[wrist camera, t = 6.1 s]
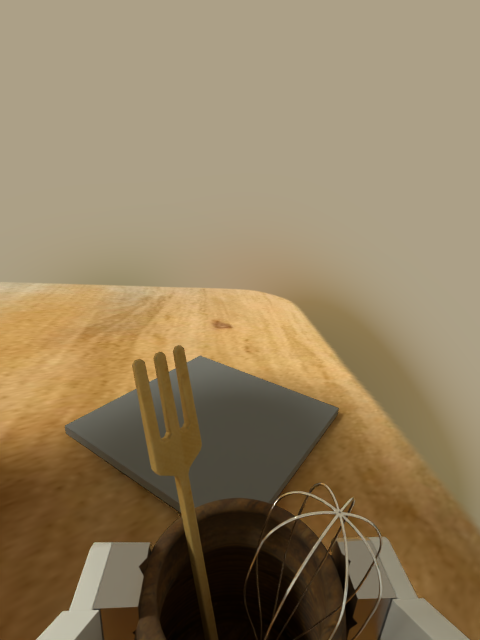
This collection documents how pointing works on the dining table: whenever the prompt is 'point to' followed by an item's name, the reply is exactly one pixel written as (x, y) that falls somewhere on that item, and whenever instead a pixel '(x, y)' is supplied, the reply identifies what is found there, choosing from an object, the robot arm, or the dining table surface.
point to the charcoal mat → (214, 434)
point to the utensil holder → (234, 548)
